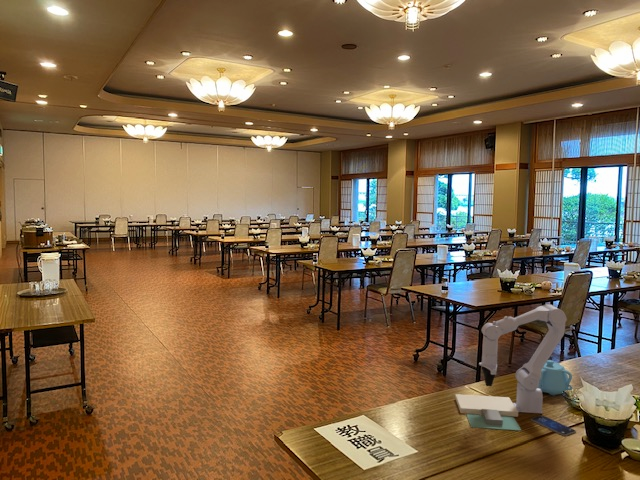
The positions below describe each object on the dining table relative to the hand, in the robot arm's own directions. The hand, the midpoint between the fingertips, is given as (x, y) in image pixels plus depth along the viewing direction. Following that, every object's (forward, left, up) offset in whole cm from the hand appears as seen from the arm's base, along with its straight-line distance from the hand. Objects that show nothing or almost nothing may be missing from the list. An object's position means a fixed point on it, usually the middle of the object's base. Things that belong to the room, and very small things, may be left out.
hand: (488, 385), depth 197 cm
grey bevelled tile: (+1, +11, -9) cm, 15 cm away
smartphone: (-21, +13, -10) cm, 27 cm away
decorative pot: (-31, -23, -10) cm, 40 cm away
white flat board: (+1, 0, -9) cm, 9 cm away
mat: (+1, +13, -9) cm, 16 cm away
